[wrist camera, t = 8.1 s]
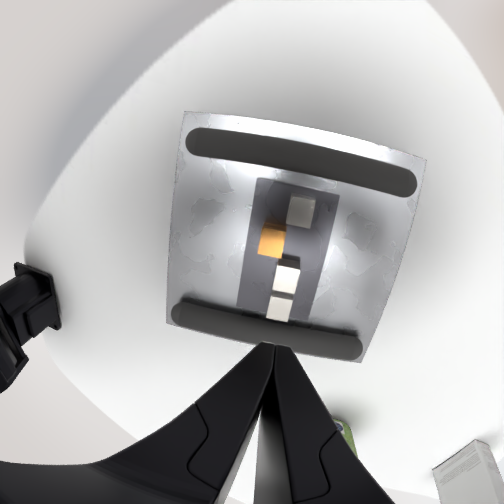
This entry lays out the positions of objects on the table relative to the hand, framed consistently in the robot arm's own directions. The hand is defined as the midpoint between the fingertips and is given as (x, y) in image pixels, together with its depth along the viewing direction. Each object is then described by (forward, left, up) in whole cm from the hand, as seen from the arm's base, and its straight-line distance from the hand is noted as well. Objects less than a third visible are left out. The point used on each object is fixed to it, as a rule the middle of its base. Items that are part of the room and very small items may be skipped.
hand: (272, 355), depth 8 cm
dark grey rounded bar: (0, +5, -9) cm, 11 cm away
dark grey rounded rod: (0, -5, -9) cm, 11 cm away
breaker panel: (0, 0, -12) cm, 12 cm away
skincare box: (+33, -26, -12) cm, 44 cm away
